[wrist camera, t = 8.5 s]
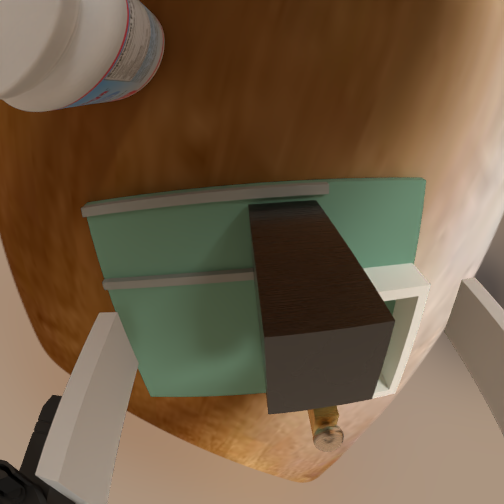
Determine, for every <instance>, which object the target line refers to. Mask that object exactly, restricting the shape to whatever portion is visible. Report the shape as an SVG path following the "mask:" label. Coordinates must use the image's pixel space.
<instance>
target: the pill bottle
mask: <svg viewBox="0 0 504 504" xmlns="http://www.w3.org/2000/svg"><path fill="white" fill-rule="evenodd" d="M164 44H165V38H164V32H163V29H162V26H161V24H160V22H159V20H158V19H157V18H156V16H155V15H154V14H153V13H152V12H151V11H150V10H149V9H148V8H147V7H145V6H144V5H143V4H142V3H141V2H140V1H139V0H0V99H2V100H4V101H5V102H6V103H8V104H9V105H11V106H12V107H14V108H17V109H20V110H23V111H29V112H44V111H52V110H58V109H63V108H69V107H76V106H82V105H88V104H96V103H103V102H111V101H116V100H121V99H124V98H127V97H129V96H131V95H133V94H135V93H137V92H138V91H140V90H141V89H142V88H143V87H144V86H145V85H147V84H148V83H149V81H150V80H151V79H152V78H153V76H154V75H155V73H156V71H157V69H158V68H159V65H160V63H161V60H162V57H163V52H164Z"/></svg>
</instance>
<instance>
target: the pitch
mask: <svg viewBox="0 0 504 504" xmlns="http://www.w3.org/2000/svg"><path fill="white" fill-rule="evenodd" d="M425 186H426V180H425V179H423V178H342V179H316V180H296V181H279V182H263V183H250V184H237V185H225V186H214V187H204V188H194V189H185V190H176V191H167V192H158V193H150V194H142V195H135V196H127V197H120V198H113V199H106V200H100V201H93V202H87V203H86V204H85V205H84V206H83V207H82V208H81V212H82V216H83V217H87V221H88V224H89V228H90V232H91V236H92V239H93V243H94V246H95V250H96V253H97V257H98V260H99V263H100V267H101V270H102V273H103V276H104V280H103V282H102V284H103V287H104V290H108V291H109V294H110V297H111V300H112V303H113V306H114V309H115V311H116V312H118V315H119V318H120V320H121V323H122V325H123V328H124V330H125V333H126V335H127V337H128V340H129V342H130V345H131V347H132V349H133V352H134V354H135V356H136V359H137V361H138V363H139V364H138V369H139V371H140V374H141V376H142V378H143V380H144V383H145V385H146V387H147V389H148V391H149V393H150V396H151V397H199V396H225V395H242V394H256V393H266V388H265V378H264V369H263V360H262V350H261V341H260V332H259V322H258V313H257V303H256V294H255V284H254V275H253V266H252V252H251V239H250V225H249V212H248V205H249V204H263V203H276V202H291V201H308V200H316V201H317V202H318V203H319V205H320V206H321V208H322V209H323V210H324V212H325V213H326V215H327V216H328V217H329V219H330V220H331V222H332V223H333V225H334V226H335V228H336V229H337V230H338V232H339V233H340V235H341V236H342V238H343V239H344V241H345V242H346V244H347V245H348V247H349V248H350V250H351V251H352V253H353V254H354V256H355V257H356V259H357V260H358V262H359V263H360V265H361V266H362V268H370V267H379V266H389V265H398V264H407V263H413V264H414V260H415V255H416V249H417V244H418V238H419V232H420V225H421V218H422V211H423V203H424V195H425ZM395 302H396V300H389V301H384V303H385V304H386V306H387V308H388V309H389V311H390V313H391V314H392V315H393V311H394V307H395Z"/></svg>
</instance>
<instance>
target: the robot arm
mask: <svg viewBox="0 0 504 504" xmlns="http://www.w3.org/2000/svg"><path fill="white" fill-rule="evenodd" d="M444 332H445V334H446V335H447V337H448V338H449V340H450V341H451V343H452V345H453V346H454V348H455V349H456V351H457V352H458V354H459V356H460V357H461V359H462V361H463V362H464V364H465V366H466V367H467V369H468V371H469V372H470V374H471V376H472V378H473V379H474V381H475V383H476V384H477V386H478V388H479V390H480V392H481V393H482V395H483V397H484V399H485V401H486V403H487V404H488V406H489V408H490V410H491V412H492V414H493V416H494V418H495V420H496V422H497V424H498V425H499V427H500V429H501V431H502V434H503V436H504V310H503V309H502V308H501V306H500V305H499V304H498V303H497V302H496V300H494V298H493V297H492V296H491V295H490V294H489V293H488V291H487V290H486V289H485V288H484V287H483V286H482V285H481V284H480V282H479V281H478V280H477V279H476V278H470V279H464V280H462V281H461V284H460V287H459V290H458V294H457V297H456V300H455V303H454V306H453V308H452V311H451V314H450V317H449V320H448V322H447V325H446V328H445V330H444ZM138 364H139V363H138V361H137V359H136V356H135V354H134V352H133V349H132V347H131V345H130V342H129V340H128V337H127V335H126V333H125V330H124V328H123V325H122V323H121V320H120V318H119V315H118V312H103V313H99V314H98V316H97V318H96V320H95V322H94V325H93V327H92V329H91V331H90V333H89V335H88V337H87V340H86V342H85V344H84V346H83V348H82V351H81V353H80V355H79V357H78V360H77V362H76V364H75V367H74V369H73V371H72V374H71V376H70V378H69V381H68V383H67V386H66V389H65V391H64V393H63V396H56V395H52V397H51V398H50V399H49V400H48V401H47V402H46V404H45V405H44V406H43V408H42V410H41V413H40V415H39V418H38V422H37V423H36V426H35V428H34V432H33V434H32V436H31V439H30V442H29V445H28V447H27V451H26V453H25V456H24V459H23V462H22V465H21V468H20V470H19V471H18V470H17V469H15V468H14V467H13V466H12V465H11V464H9V463H8V462H7V461H4V460H0V504H107V502H108V496H109V491H110V485H111V480H112V475H113V470H114V464H115V460H116V455H117V450H118V446H119V441H120V437H121V432H122V428H123V424H124V419H125V415H126V411H127V407H128V403H129V399H130V395H131V391H132V387H133V383H134V379H135V375H136V372H137V368H138Z"/></svg>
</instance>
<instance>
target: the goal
mask: <svg viewBox="0 0 504 504" xmlns="http://www.w3.org/2000/svg"><path fill="white" fill-rule="evenodd" d="M363 269H364V271H365V273H366V274H367V276H368V277H369V279H370V280H371V282H372V283H373V285H374V287H375V288H376V290H377V291H378V293H379V295H380V296H381V298H382V299H383V301H389V300H396V302H395V307H394V311H393V315H392V316H393V318H394V319H395V324H394V328H393V332H392V335H391V339H390V343H389V346H388V350H387V353H386V357H385V360H384V364H383V367H382V370H381V373H380V377H379V380H378V383H377V386H376V389H375V392H374V395H373V398H377V397H382V396H386V395H391V394H395V393H396V390H397V388H398V385H399V383H400V380H401V377H402V375H403V372H404V369H405V367H406V364H407V361H408V358H409V356H410V353H411V350H412V347H413V344H414V341H415V338H416V335H417V332H418V328H419V325H420V322H421V319H422V315H423V312H424V308H425V305H426V301H427V297H428V294H429V290H430V286H431V284H430V283H429V282H428V280H427V279H426V278H425V277H424V276H423V275H422V273H421V272H420V271H419V270H418V269H417V268H416V266H415V265H414V264H413V263H407V264H398V265H389V266H379V267H370V268H363ZM373 398H372V399H373Z"/></svg>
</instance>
